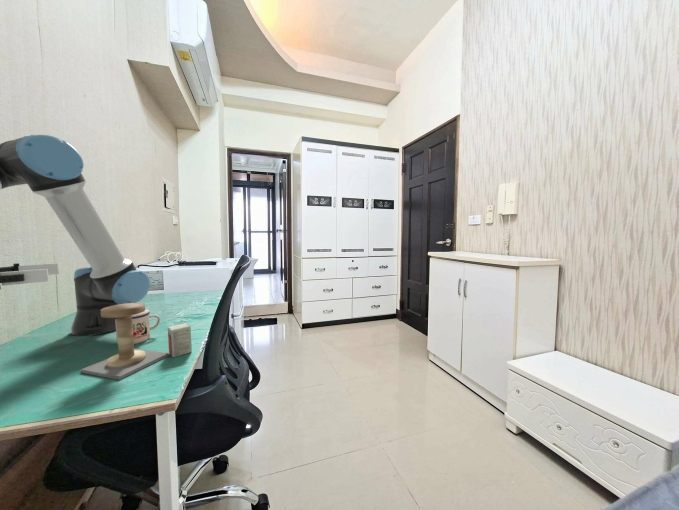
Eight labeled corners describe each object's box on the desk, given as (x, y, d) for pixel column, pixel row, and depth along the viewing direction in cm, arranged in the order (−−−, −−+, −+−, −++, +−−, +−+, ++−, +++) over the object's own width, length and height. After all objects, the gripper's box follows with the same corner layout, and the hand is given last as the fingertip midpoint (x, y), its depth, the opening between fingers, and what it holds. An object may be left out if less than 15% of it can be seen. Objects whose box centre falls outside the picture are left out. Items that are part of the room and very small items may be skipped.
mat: (133, 350, 79) (133, 348, 79) (168, 355, 75) (168, 353, 75) (80, 372, 66) (80, 369, 66) (119, 379, 63) (119, 376, 63)
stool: (131, 351, 76) (128, 301, 75) (156, 355, 74) (153, 303, 73) (95, 366, 67) (91, 310, 66) (121, 371, 65) (118, 313, 64)
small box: (187, 348, 80) (186, 322, 80) (192, 352, 77) (190, 325, 77) (168, 353, 77) (167, 326, 76) (172, 358, 74) (170, 330, 73)
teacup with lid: (117, 348, 80) (114, 310, 80) (114, 340, 87) (112, 305, 86) (163, 338, 89) (161, 303, 88) (158, 331, 95) (156, 299, 94)
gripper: (-72, 292, 60) (62, 280, 74) (-157, 320, 41) (44, 296, 55) (-77, 259, 60) (59, 253, 73) (-167, 272, 41) (40, 260, 54)
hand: (53, 271), depth 64 cm, fingers open, 13 cm apart
